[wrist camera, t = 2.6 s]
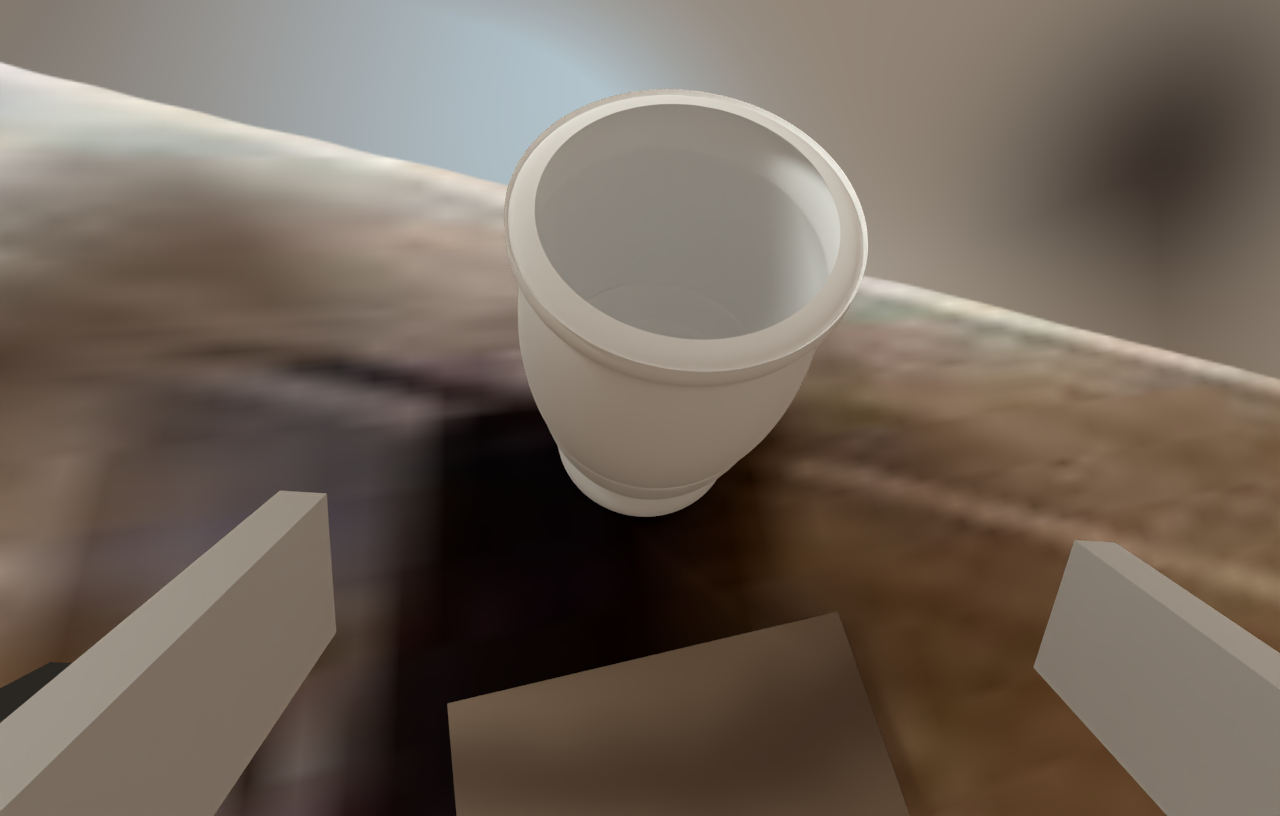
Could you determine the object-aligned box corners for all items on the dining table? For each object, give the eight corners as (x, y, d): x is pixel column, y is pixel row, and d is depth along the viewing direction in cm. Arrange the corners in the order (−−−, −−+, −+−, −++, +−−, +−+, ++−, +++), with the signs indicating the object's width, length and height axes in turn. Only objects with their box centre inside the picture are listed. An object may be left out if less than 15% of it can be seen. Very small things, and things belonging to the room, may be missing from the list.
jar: (574, 322, 34) (570, 52, 20) (764, 373, 33) (886, 131, 20) (503, 506, 29) (436, 308, 15) (724, 569, 28) (852, 420, 15)
